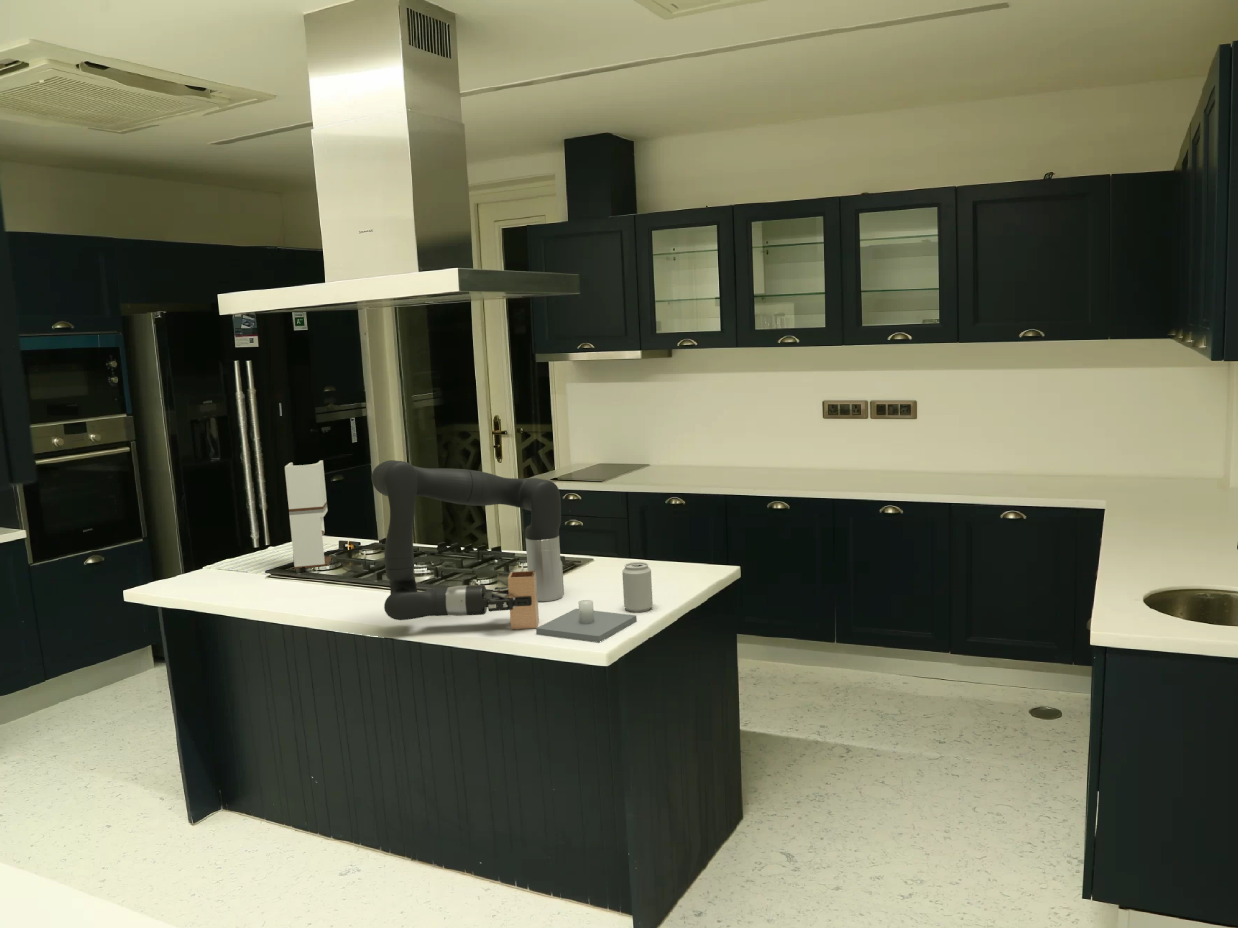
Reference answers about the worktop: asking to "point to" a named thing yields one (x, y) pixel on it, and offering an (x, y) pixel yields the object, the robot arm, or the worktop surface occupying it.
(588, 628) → the duct base
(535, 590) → the tan box
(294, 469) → the brown-banded white column
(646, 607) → the can
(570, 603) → the worktop surface
